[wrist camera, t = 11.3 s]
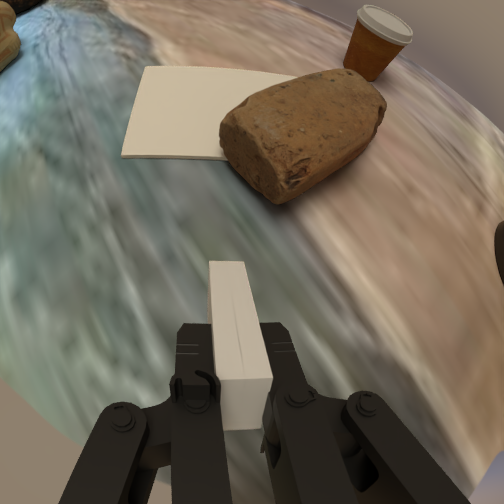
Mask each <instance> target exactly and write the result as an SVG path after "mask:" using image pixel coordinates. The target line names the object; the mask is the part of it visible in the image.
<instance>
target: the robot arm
mask: <svg viewBox="0 0 504 504" xmlns="http://www.w3.org/2000/svg"><path fill="white" fill-rule="evenodd" d="M495 252H496V258H497V263H498V268H499V271H500V275H501V277H502V280H503V283H504V221H502V222H501V223H500V224H499V225H498V227H497V230H496V234H495ZM207 312H208V324H191V323H184V324H183V325H182V327H181V328H180V329H179V331H178V332H177V346H176V363H175V374H174V375H173V376H172V378H171V381H170V384H169V386H170V393H171V396H170V397H169V398H168V399H167V400H166V401H165V402H163V403H161V404H159V405H156V406H152V407H148V408H143V409H140V408H139V407H138V406H136V405H134V404H132V403H128V402H117V403H113V404H111V405H109V406H107V407H106V408H105V409H104V410H103V411H102V413H101V414H100V416H99V418H98V420H97V422H96V424H95V426H94V428H93V430H92V432H91V434H90V436H89V438H88V440H87V442H86V444H85V446H84V449H83V451H82V453H81V455H80V457H79V459H78V461H77V463H76V465H75V468H74V470H73V472H72V474H71V476H70V479H69V481H68V483H67V485H66V488H65V490H64V492H63V494H62V497H61V499H60V501H59V503H58V504H147V503H148V499H149V496H150V493H151V490H152V486H153V483H154V480H155V477H156V473H157V470H158V468H160V467H164V466H168V465H171V487H172V504H233V503H232V496H231V489H230V482H229V474H228V466H227V458H226V450H225V442H224V433H223V430H245V429H260V428H261V426H262V422H263V425H264V430H265V434H264V438H263V441H262V445H261V452H260V453H264V450H265V453H266V458H267V463H268V468H269V473H270V478H271V482H272V487H273V492H274V497H275V501H276V504H471V503H470V502H469V501H468V499H467V498H466V497H465V496H464V495H463V494H462V492H461V491H460V490H459V489H458V488H457V486H456V485H455V484H454V483H453V482H452V480H451V479H450V478H449V477H448V476H447V475H446V473H445V472H444V471H443V470H442V469H441V467H440V466H439V465H438V464H437V463H436V462H435V460H434V459H433V458H432V457H431V456H430V454H429V453H428V452H427V451H426V450H425V449H424V447H423V446H422V445H421V444H420V443H419V441H418V440H417V439H416V438H415V437H414V436H413V434H412V433H411V432H410V431H409V430H408V428H407V427H406V426H405V425H404V424H403V423H402V421H401V420H400V419H399V418H398V417H397V416H396V414H395V413H394V412H393V411H392V410H391V408H390V407H389V406H388V405H387V404H386V403H385V401H384V400H383V399H382V398H381V397H379V396H378V395H377V394H374V393H372V392H369V391H359V392H355V393H353V394H352V395H350V396H349V398H348V400H343V399H336V398H329V397H325V396H322V395H320V394H318V393H317V391H316V390H315V389H314V388H313V387H311V386H310V385H308V383H307V382H306V379H305V376H304V373H303V371H302V368H301V365H300V362H299V359H298V357H297V354H296V352H295V348H294V345H293V343H292V340H291V337H290V334H289V331H288V330H287V329H286V328H285V327H284V326H283V325H282V324H281V323H280V322H275V323H259V321H258V317H257V313H256V309H255V305H254V301H253V297H252V293H251V289H250V285H249V281H248V277H247V273H246V269H245V265H244V262H238V261H209V279H208V310H207Z"/></svg>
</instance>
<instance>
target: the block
mask: <svg viewBox="0 0 504 504" xmlns="http://www.w3.org/2000/svg"><path fill="white" fill-rule="evenodd" d="M386 108H387V103H386V101H385V99H384V98H383V96H382V95H381V94H380V93H379V92H378V91H377V90H376V89H375V88H374V87H373V86H372V85H371V84H370V83H369V82H367V81H366V80H365V79H364V78H363V77H362V76H361V75H360V74H358V73H357V72H356V71H353V70H351V69H333V70H327V71H322V72H318V73H313V74H309V75H305V76H302V77H298V78H295V79H292V80H289V81H285V82H282V83H279V84H275V85H273V86H270V87H268V88H266V89H263V90H261V91H258V92H256V93H254V94H252V95H250V96H248V97H247V98H246V99H245V100H244V101H243V102H242V103H241V104H239V105H238V106H236V107H235V108H234V109H232V110H231V111H230V112H228V113H227V114H226V116H225V117H224V119H223V120H222V121H221V123H220V128H219V138H220V140H219V144H220V147H221V148H222V149H223V151H224V155H225V157H226V158H227V160H228V161H229V162H230V164H231V165H232V167H233V168H234V169H235V170H236V171H237V172H238V173H239V174H240V175H241V176H242V177H243V178H244V179H245V180H246V181H247V182H248V183H249V184H250V185H251V186H252V187H253V188H254V189H256V190H257V191H259V192H261V193H262V194H263V195H264V197H266V198H267V199H269V200H270V201H271V202H272V203H275V204H282V203H284V202H287V201H289V200H292V199H294V198H295V197H297V196H299V195H301V194H302V193H304V192H305V191H307V190H308V189H310V188H311V187H312V186H314V185H315V184H317V183H318V182H320V181H321V180H323V179H324V178H326V177H327V176H329V175H330V174H331V173H333V172H334V171H336V170H338V169H340V168H341V167H343V166H344V165H346V164H347V163H349V162H350V161H352V160H353V159H355V158H356V157H357V156H358V155H359V154H360V153H361V152H362V151H363V150H364V149H365V148H366V147H367V146H368V144H369V143H370V142H371V140H372V139H373V138H374V136H375V135H376V133H377V128H378V126H379V125H380V124H381V123H382V120H383V118H384V113H385V111H386Z"/></svg>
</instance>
